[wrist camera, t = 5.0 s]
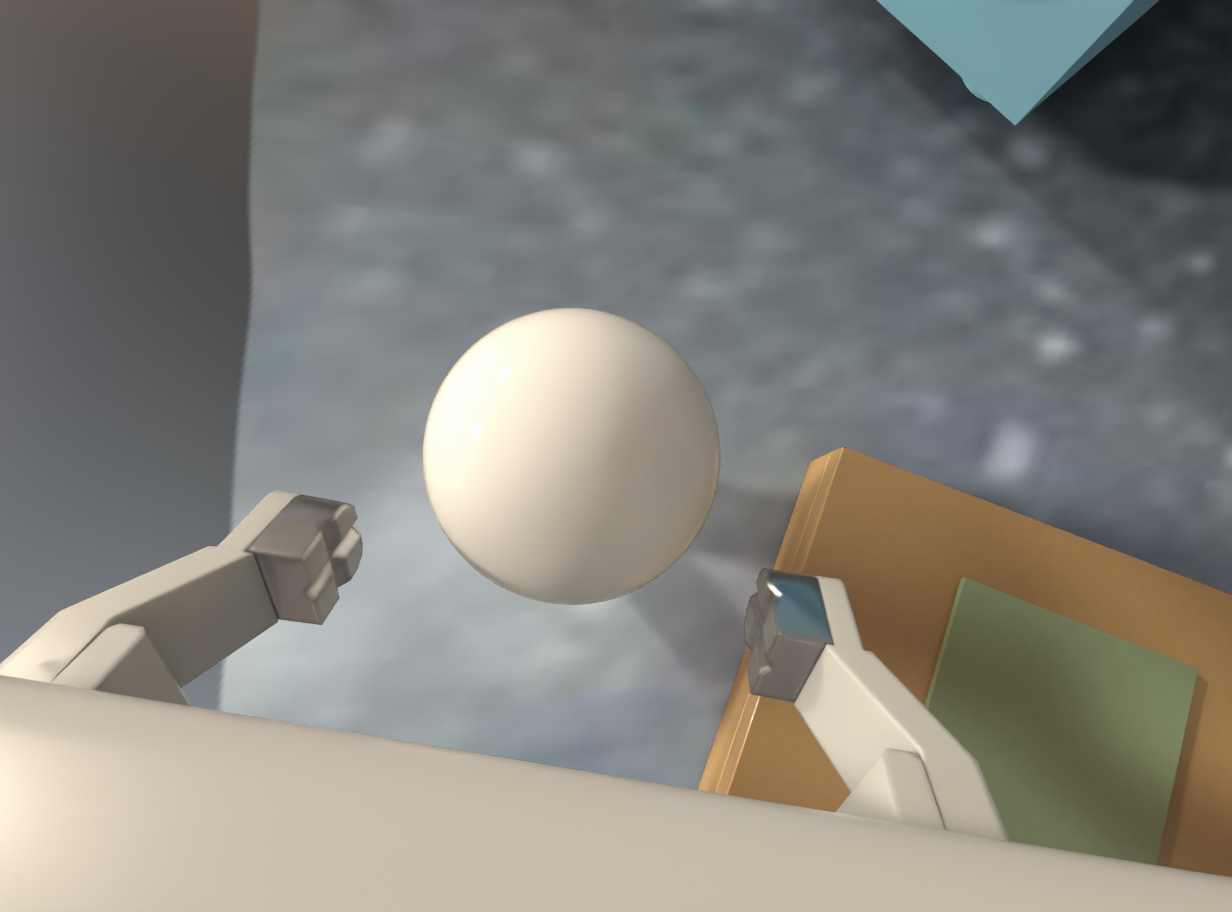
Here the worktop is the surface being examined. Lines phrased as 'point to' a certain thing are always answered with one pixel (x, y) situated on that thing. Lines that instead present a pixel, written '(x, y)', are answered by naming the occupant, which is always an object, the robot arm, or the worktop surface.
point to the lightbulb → (571, 456)
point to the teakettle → (1016, 42)
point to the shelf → (1012, 668)
